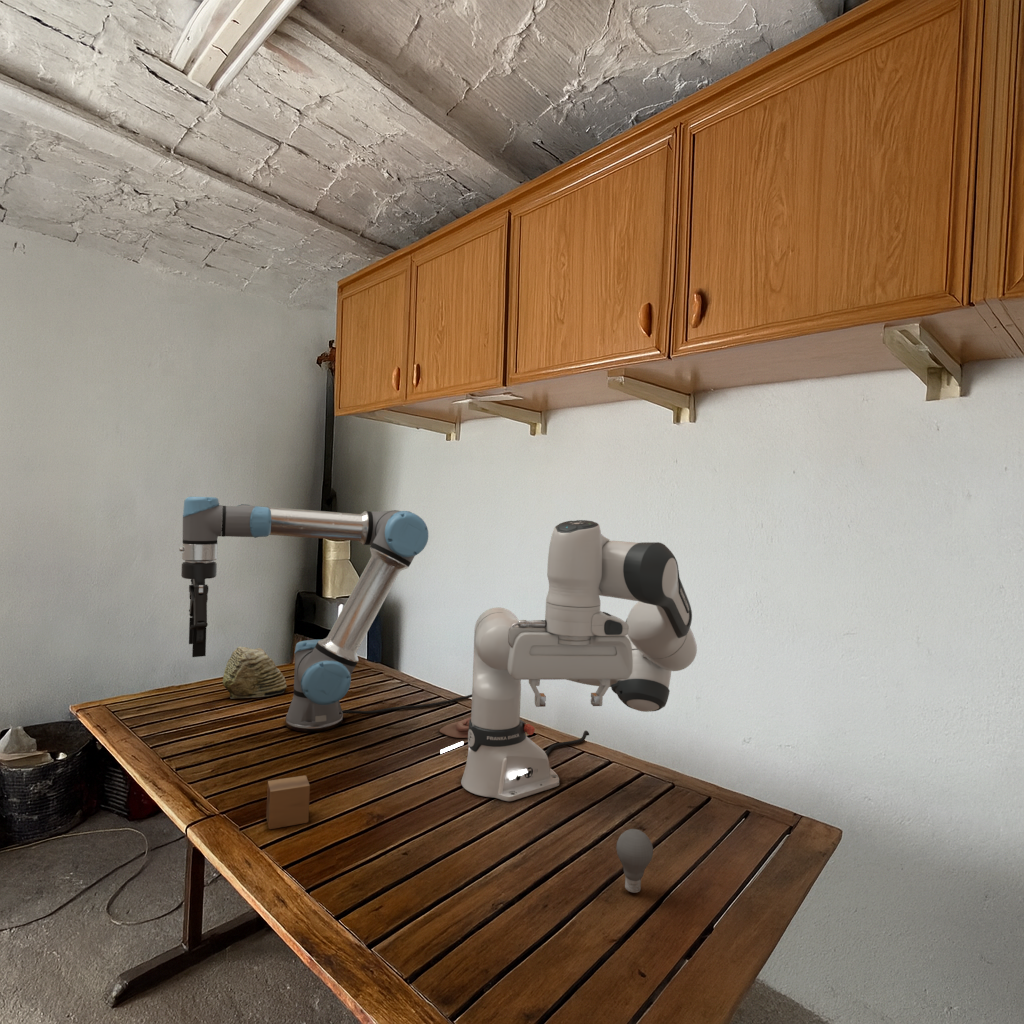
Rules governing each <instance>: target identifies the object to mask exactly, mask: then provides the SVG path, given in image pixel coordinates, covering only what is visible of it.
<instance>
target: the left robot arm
mask: <svg viewBox="0 0 1024 1024" xmlns="http://www.w3.org/2000/svg"><path fill="white" fill-rule="evenodd" d="M219 502H220V501H219V498H218V497H215V496H187V497H186V498H185V499H184V501H183V510H182V511H183V512H182V546H181V547H179V548H178V549H179V552H181V559H182V561H183V562H182V563H181V575H180V576H181V578H182V579H185V580H190V584H189V585H188V592H189V609H188V612H189V614H188V615H189V623H188V645H192V649H191V651H192V652H191V653H192V655H191V657H192V658H203V657H206V656H207V655H206V654H207V653H206V652H207V627H208V625H209V624H208V600H209V595H208V594H209V585H208V584H206V580H210V579H214V578H216V577H217V570H218V569H217V568H218V567H217V566H218V563H217V562H216V560H217V559H218V546H219V545H218V537H223V538H225V537H231V538H232V537H233V538H234V537H235V538H237V537H238V538H255V539H256V538H267V537H269V536H279V537H294V538H295V537H296V538H308V539H309V538H311V539H322V540H323V539H325V540H341V541H353V542H355V541H356V542H359V543H360V544H361V546H362V545H363V546H370V547H369V550H370V554H371V555H370V557H369V560H368V562H367V564H366V566H365V568H364V569H363V571H362V573H361V575H360V576H359V578H358V580H357V582H356V584H355V585H354V587H353V589H352V591H351V593H350V595H349V597H348V598H347V600H346V602H345V604H344V605H343V607H342V609H341V611H340V613H339V615H338V617H337V618H336V620H335V622H334V624H333V625H332V628H331V629H330V631H329V633H328V635H327V636H326V637H325V638H323V639H307V640H301V641H298V642H297V643H296V644H295V648H294V649H295V650H294V672H293V673H294V674H293V675H294V676H293V695H292V696H293V697H292V699H291V702H290V704H289V708H288V711H287V713H286V715H285V726H286V728H287V729H289V730H291V731H294V732H295V731H296V732H301V733H316V732H325V731H329V730H332V729H335V728H337V727H339V726H340V725H342V723H343V722H344V714H349V715H350V714H351V715H352V714H353V715H355V714H357V715H358V714H359V715H372V714H373V715H374V714H380V713H386V712H390V711H398V710H399V711H400V710H409V709H412V710H413V709H422V708H429V707H435V706H442V705H446V704H450V703H454V702H458V701H463V700H467V699H472V693H471V694H468V695H465V696H460V697H455V698H451V699H448V700H444V701H443V700H442V701H437V702H431V703H425V704H417V705H416V704H415V705H402V706H401V705H400V706H393V707H387V708H381V709H377V710H376V709H375V710H347V709H346V710H344V709H342V706H341V702H340V701H341V700H342V699H343V698H344V697H346V695H347V694H348V692H349V690H350V688H351V683H352V674H353V672H354V670H355V669H356V666H357V664H358V663H359V657H358V656H359V655H358V653H357V652H358V650H359V648H360V646H361V645H362V643H363V641H364V640H365V638H366V636H367V634H368V632H369V630H370V628H371V626H372V624H373V623H374V621H375V619H376V617H377V615H378V614H379V612H380V610H381V608H382V606H383V605H384V602H385V600H386V598H387V597H388V595H389V593H390V591H391V589H392V588H393V586H394V583H395V582H396V580H397V578H398V576H399V574H400V573H401V572H402V571H404V570H406V569H409V568H410V566H411V564H412V562H413V560H414V559H415V557H416V556H418V555H419V554H420V553H421V552H423V551H424V549H426V547H427V545H428V542H429V529H428V526H427V524H426V522H425V521H424V519H423V518H422V517H420V516H419V515H418V514H416V513H414V512H412V511H409V510H397V509H393V510H392V509H391V510H383V511H382V510H381V511H380V510H379V511H368V510H364V511H363V512H361V513H350V512H339V511H337V512H336V511H326V510H311V509H299V508H288V507H276V506H275V507H274V506H262V505H251V504H243V503H241V504H238V505H223V504H220V503H219Z"/></svg>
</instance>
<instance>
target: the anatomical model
mask: <svg viewBox="0 0 1024 1024" xmlns="http://www.w3.org/2000/svg"><path fill="white" fill-rule="evenodd" d="M470 719H471V716H470V717H467V718H464V719H461V720H458V721H456V722H451V723H448V724H446V725H444V726H442V727H441V728H440V729H439V733H441V734H442V735H445V736H448V737H452V738H456V739H465V738H466V739H468V730H469V720H470Z"/></svg>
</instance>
